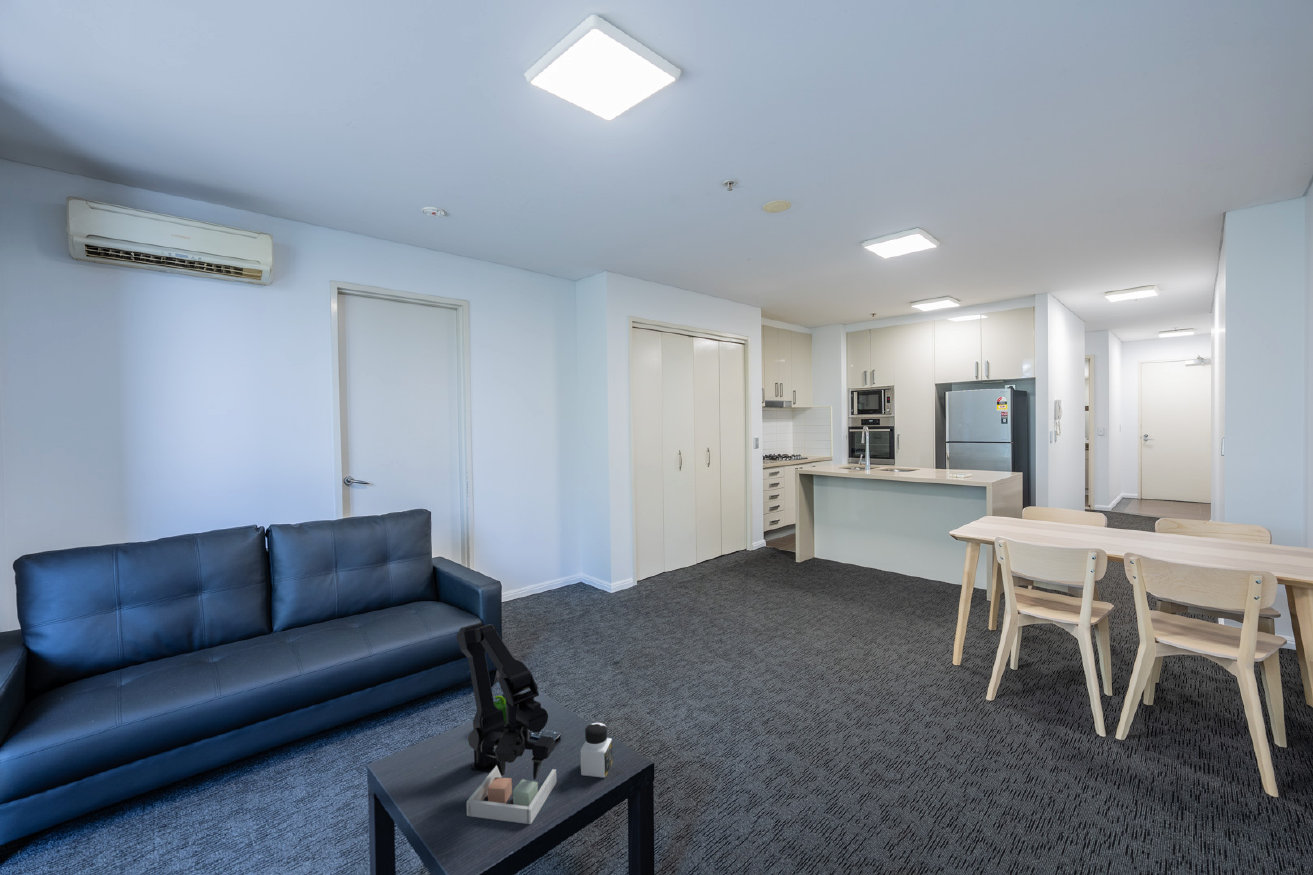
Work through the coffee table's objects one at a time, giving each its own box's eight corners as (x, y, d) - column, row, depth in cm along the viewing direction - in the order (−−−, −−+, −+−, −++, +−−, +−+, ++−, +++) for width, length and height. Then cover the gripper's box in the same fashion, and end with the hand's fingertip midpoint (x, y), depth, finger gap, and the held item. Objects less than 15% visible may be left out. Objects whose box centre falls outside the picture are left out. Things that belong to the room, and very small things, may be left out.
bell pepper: (521, 719, 179) (521, 689, 179) (511, 733, 171) (510, 701, 171) (497, 718, 180) (497, 688, 180) (486, 731, 172) (485, 700, 172)
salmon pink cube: (488, 803, 138) (487, 788, 138) (495, 792, 143) (495, 777, 143) (504, 804, 138) (504, 789, 138) (511, 793, 142) (511, 778, 142)
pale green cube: (513, 805, 137) (513, 790, 137) (522, 794, 141) (522, 779, 141) (529, 809, 136) (528, 793, 136) (538, 797, 140) (537, 782, 140)
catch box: (466, 815, 134) (466, 801, 134) (498, 775, 149) (498, 763, 149) (530, 824, 130) (530, 809, 130) (556, 782, 146) (556, 769, 146)
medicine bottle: (605, 778, 147) (604, 734, 147) (580, 775, 149) (579, 732, 149) (612, 762, 154) (611, 720, 154) (588, 760, 156) (588, 718, 156)
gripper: (468, 730, 137) (470, 792, 137) (537, 737, 133) (539, 801, 133) (490, 709, 148) (492, 766, 148) (555, 714, 144) (556, 773, 144)
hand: (518, 776), depth 143 cm, fingers open, 9 cm apart
